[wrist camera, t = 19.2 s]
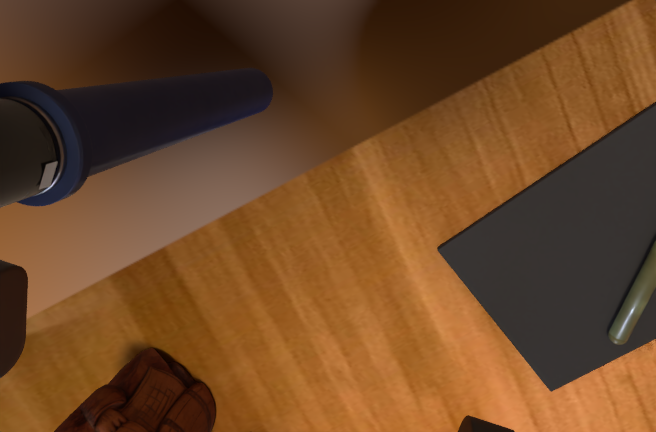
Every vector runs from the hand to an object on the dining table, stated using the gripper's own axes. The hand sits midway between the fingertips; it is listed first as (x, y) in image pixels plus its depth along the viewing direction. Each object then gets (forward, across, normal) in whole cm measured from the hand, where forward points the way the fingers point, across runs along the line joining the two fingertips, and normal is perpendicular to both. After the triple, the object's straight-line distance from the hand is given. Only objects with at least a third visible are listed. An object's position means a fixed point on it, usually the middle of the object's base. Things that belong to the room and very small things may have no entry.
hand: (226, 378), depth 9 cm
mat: (+34, -21, +3) cm, 40 cm away
